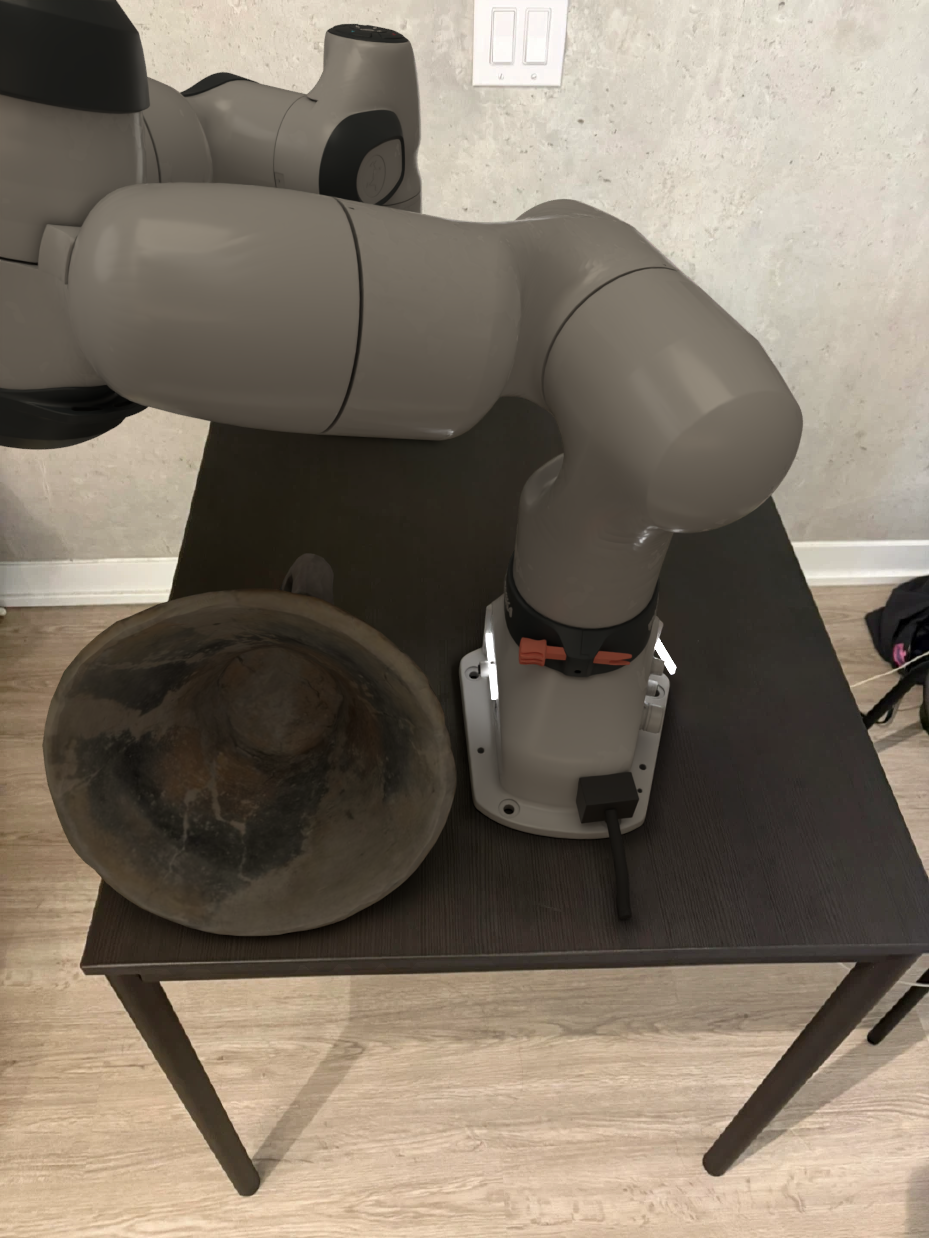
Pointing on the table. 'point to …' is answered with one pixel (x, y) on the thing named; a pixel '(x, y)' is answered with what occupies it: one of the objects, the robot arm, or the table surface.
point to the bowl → (249, 758)
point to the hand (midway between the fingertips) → (384, 339)
